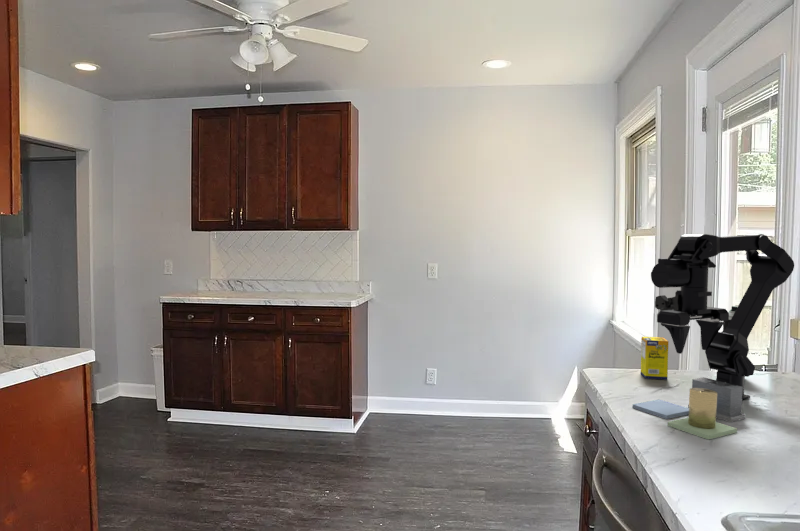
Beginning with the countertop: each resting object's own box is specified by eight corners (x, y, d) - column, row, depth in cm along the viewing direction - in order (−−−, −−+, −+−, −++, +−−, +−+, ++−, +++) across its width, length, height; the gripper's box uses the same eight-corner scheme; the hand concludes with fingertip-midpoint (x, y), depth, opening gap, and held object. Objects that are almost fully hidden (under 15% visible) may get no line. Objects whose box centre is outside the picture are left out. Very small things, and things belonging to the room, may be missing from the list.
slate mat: (659, 402, 134) (659, 399, 134) (693, 413, 126) (693, 409, 126) (632, 407, 130) (632, 404, 130) (666, 419, 122) (666, 415, 122)
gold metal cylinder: (697, 419, 119) (699, 386, 118) (720, 426, 114) (722, 392, 114) (682, 422, 116) (684, 389, 116) (705, 430, 112) (707, 395, 112)
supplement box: (668, 380, 155) (669, 340, 154) (644, 378, 156) (645, 340, 155) (662, 374, 161) (663, 337, 160) (640, 373, 162) (641, 336, 161)
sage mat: (695, 419, 121) (696, 415, 121) (737, 432, 113) (737, 428, 113) (667, 425, 117) (668, 421, 117) (708, 439, 109) (708, 435, 109)
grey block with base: (702, 406, 131) (703, 376, 130) (745, 418, 122) (746, 386, 122) (688, 409, 129) (688, 379, 128) (730, 422, 120) (731, 389, 119)
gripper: (689, 282, 145) (687, 342, 146) (638, 285, 137) (637, 349, 137) (731, 286, 135) (729, 350, 136) (679, 289, 127) (677, 357, 127)
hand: (692, 351), depth 134 cm, fingers open, 9 cm apart
